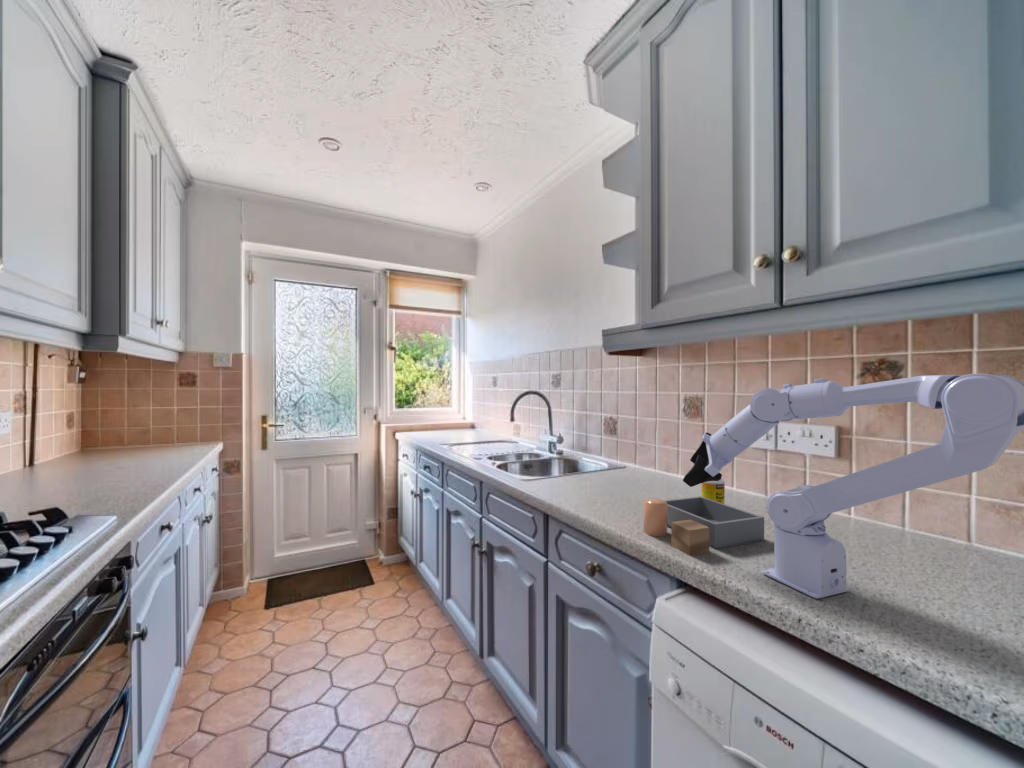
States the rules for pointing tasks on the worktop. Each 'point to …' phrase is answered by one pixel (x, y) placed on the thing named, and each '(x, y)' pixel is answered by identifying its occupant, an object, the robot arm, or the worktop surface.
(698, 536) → the walnut block
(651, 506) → the terracotta cylinder
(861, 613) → the worktop surface
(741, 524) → the tote
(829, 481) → the robot arm
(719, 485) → the supplement bottle
